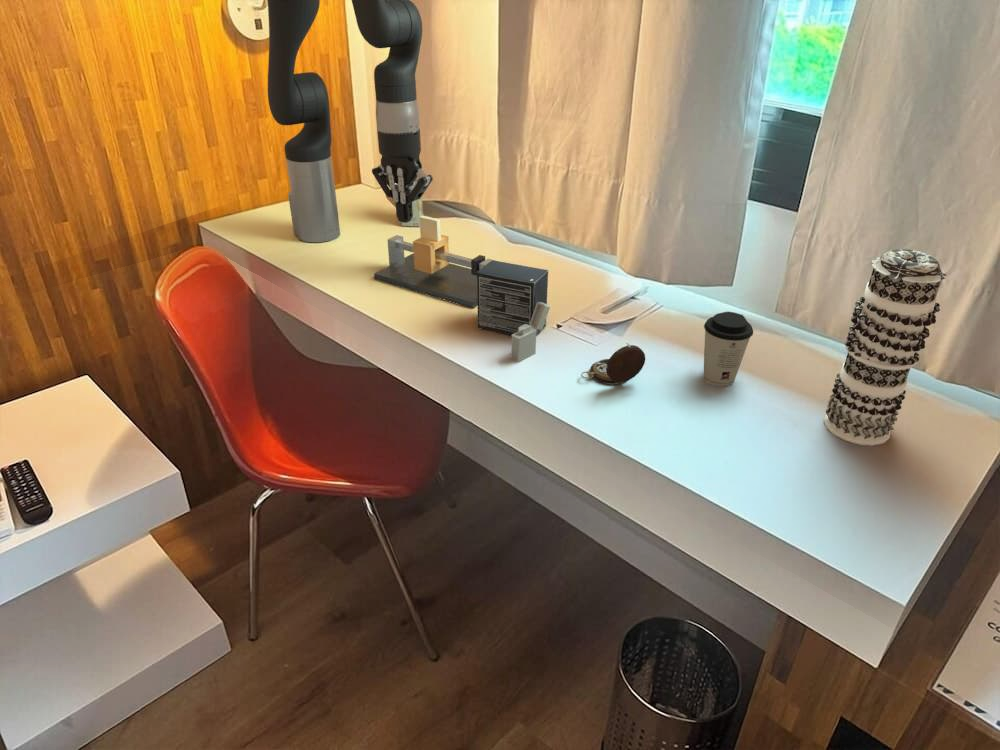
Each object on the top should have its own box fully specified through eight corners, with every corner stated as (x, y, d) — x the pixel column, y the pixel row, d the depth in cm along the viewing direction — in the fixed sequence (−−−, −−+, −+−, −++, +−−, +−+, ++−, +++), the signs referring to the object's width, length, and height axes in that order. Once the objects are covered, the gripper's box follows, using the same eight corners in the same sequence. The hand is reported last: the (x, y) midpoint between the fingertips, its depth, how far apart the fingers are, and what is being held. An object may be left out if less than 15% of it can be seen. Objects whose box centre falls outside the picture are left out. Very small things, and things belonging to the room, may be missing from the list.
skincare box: (420, 227, 164) (417, 173, 157) (401, 227, 164) (398, 173, 157) (424, 217, 169) (421, 165, 163) (405, 217, 169) (402, 165, 163)
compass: (616, 361, 114) (621, 320, 110) (643, 386, 108) (649, 343, 104) (571, 371, 111) (574, 329, 108) (596, 397, 105) (600, 354, 101)
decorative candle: (907, 445, 96) (974, 271, 82) (840, 448, 95) (896, 273, 82) (872, 406, 103) (927, 241, 90) (809, 409, 103) (856, 243, 90)
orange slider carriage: (414, 269, 137) (411, 220, 132) (432, 259, 141) (430, 212, 136) (431, 274, 135) (429, 224, 130) (449, 264, 139) (447, 216, 134)
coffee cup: (734, 395, 106) (747, 335, 100) (688, 382, 109) (698, 323, 103) (748, 374, 111) (761, 316, 105) (703, 362, 114) (714, 304, 108)
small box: (548, 325, 124) (550, 268, 119) (533, 341, 119) (535, 283, 113) (492, 313, 128) (492, 257, 122) (476, 328, 123) (475, 271, 117)
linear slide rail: (374, 279, 140) (371, 245, 136) (413, 258, 148) (411, 226, 145) (472, 308, 129) (472, 272, 125) (508, 284, 138) (508, 250, 134)
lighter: (518, 362, 113) (519, 317, 109) (510, 358, 114) (511, 313, 110) (548, 346, 118) (550, 302, 113) (540, 343, 119) (542, 299, 114)
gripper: (355, 126, 128) (365, 220, 137) (414, 135, 122) (420, 233, 131) (383, 118, 133) (390, 209, 142) (441, 126, 127) (445, 221, 136)
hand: (405, 221), depth 136 cm, fingers closed
